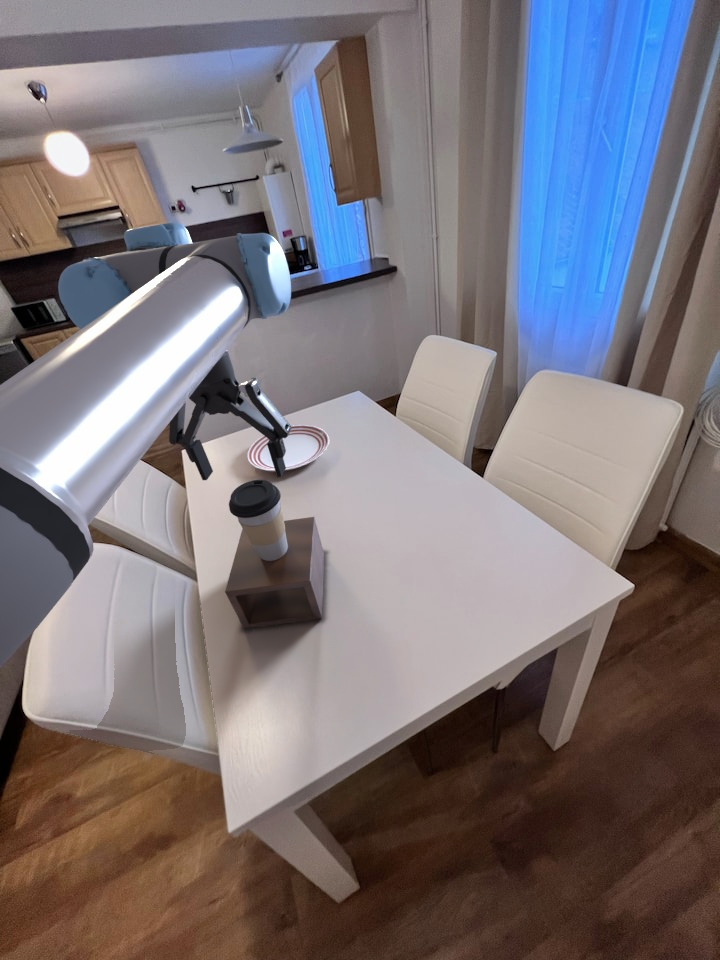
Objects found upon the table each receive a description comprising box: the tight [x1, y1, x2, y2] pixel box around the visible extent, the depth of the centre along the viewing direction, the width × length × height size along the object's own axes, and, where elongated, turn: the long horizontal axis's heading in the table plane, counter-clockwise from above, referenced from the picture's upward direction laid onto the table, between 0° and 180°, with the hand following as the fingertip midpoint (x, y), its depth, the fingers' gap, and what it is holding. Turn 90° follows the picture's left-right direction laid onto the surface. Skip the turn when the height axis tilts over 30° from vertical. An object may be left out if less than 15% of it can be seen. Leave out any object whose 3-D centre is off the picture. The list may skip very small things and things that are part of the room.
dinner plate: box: [246, 424, 330, 472], centre depth 134 cm, size 27×27×3 cm
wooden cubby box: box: [224, 516, 325, 629], centre depth 84 cm, size 18×16×12 cm
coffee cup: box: [228, 479, 288, 561], centre depth 77 cm, size 9×9×15 cm
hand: (244, 474), depth 69 cm, fingers open, 13 cm apart
